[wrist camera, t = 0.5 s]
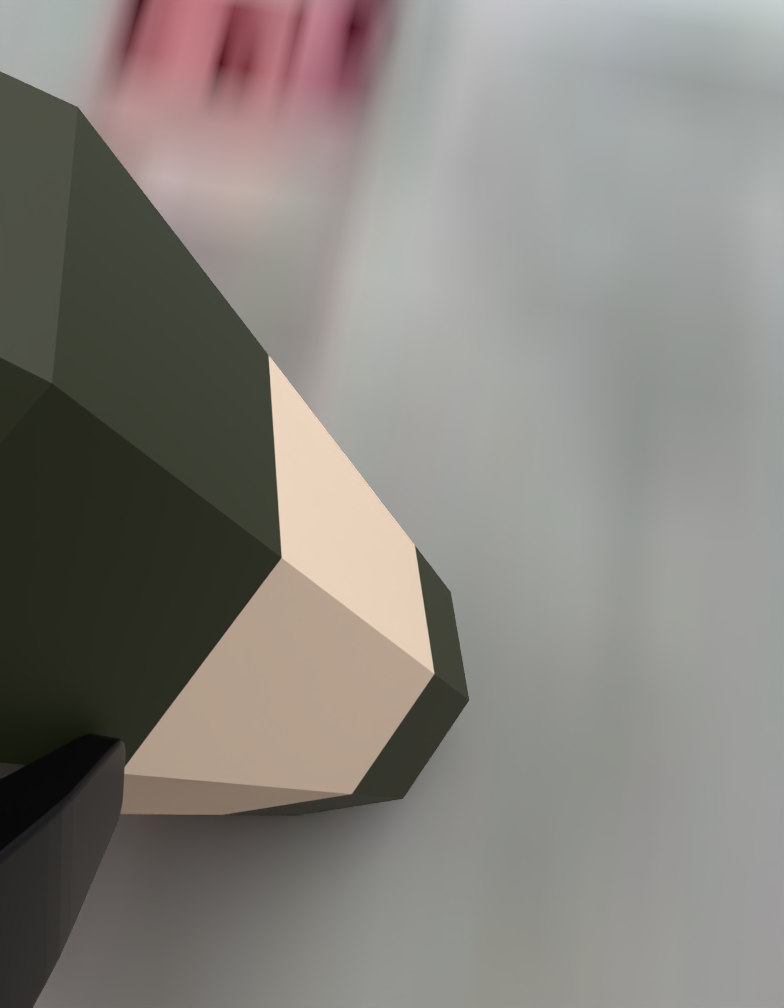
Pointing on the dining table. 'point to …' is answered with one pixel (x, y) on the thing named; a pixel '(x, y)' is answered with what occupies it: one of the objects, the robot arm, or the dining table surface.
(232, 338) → the wine bottle
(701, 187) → the dining table surface
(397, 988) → the dining table surface
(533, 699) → the dining table surface
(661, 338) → the dining table surface
